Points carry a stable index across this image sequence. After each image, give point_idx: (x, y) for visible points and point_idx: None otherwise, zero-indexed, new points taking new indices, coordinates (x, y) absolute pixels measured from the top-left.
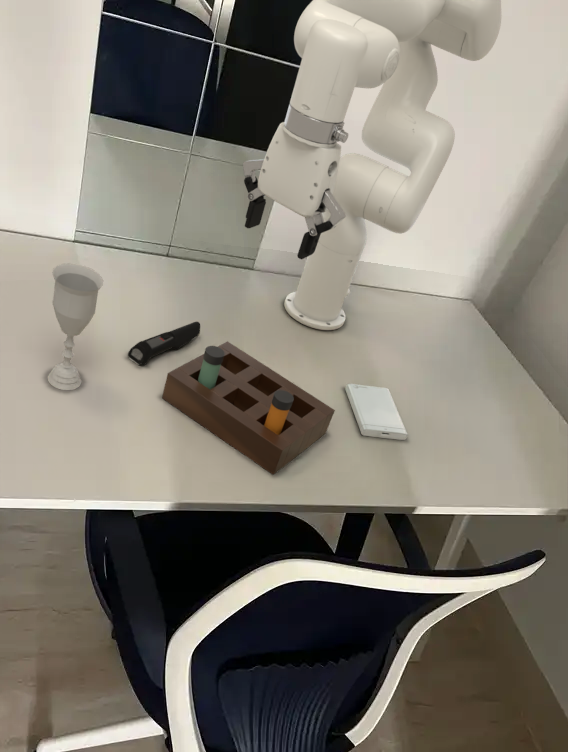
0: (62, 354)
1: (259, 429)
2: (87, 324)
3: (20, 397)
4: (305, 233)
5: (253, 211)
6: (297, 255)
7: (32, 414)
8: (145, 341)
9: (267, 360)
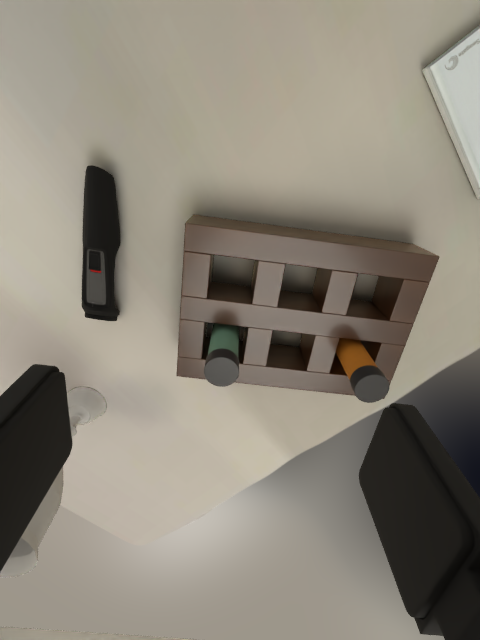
0: None
1: (341, 386)
2: (61, 479)
3: (85, 449)
4: (421, 633)
5: (18, 536)
6: (360, 481)
7: (114, 458)
8: (90, 307)
9: (246, 117)
